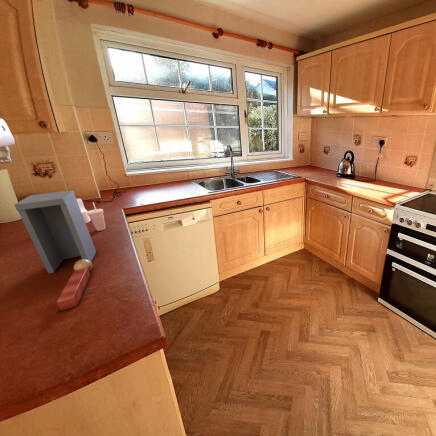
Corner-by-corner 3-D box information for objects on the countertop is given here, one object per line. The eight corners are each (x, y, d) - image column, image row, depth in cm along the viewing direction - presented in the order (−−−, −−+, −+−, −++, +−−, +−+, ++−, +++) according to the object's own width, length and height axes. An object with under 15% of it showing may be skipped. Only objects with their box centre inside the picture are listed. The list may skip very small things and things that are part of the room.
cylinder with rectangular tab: (81, 225, 127) (73, 203, 122) (64, 226, 127) (55, 204, 122) (94, 219, 135) (87, 198, 130) (78, 219, 135) (70, 198, 130)
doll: (79, 305, 70) (73, 291, 68) (57, 311, 68) (50, 297, 66) (95, 266, 89) (91, 255, 87) (78, 270, 87) (73, 258, 85)
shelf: (89, 265, 90) (63, 198, 81) (47, 274, 85) (13, 204, 76) (96, 251, 100) (73, 190, 91) (59, 258, 95) (30, 195, 86)
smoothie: (111, 228, 122) (102, 201, 117) (96, 232, 117) (86, 205, 112) (105, 225, 126) (96, 199, 120) (91, 230, 121) (81, 203, 116)
